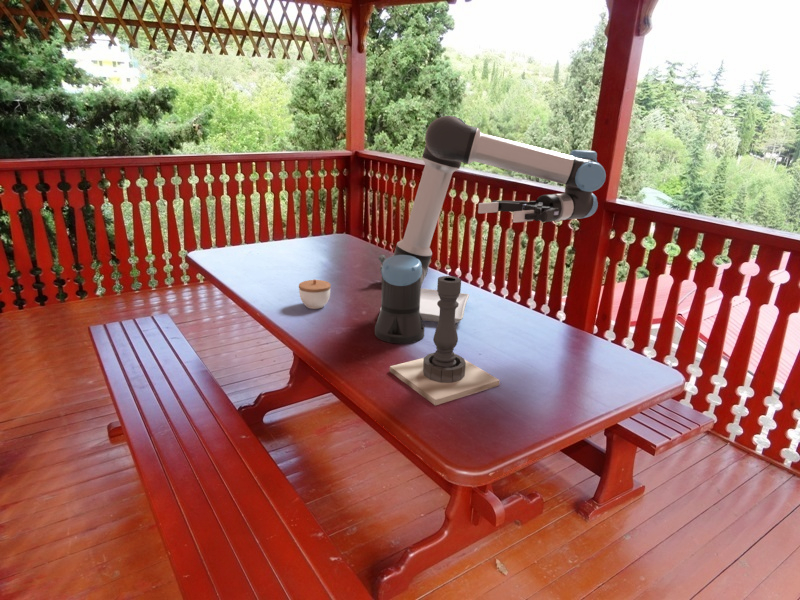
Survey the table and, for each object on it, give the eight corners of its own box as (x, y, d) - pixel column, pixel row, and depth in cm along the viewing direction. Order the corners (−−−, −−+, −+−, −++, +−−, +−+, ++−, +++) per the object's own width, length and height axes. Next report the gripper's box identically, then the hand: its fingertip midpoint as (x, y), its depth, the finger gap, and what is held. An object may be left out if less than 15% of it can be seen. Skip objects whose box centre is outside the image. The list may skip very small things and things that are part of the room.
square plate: (461, 329, 173) (462, 317, 172) (378, 320, 178) (378, 309, 176) (468, 302, 198) (469, 292, 197) (395, 294, 203) (395, 284, 202)
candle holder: (453, 367, 142) (460, 275, 134) (457, 378, 136) (464, 283, 128) (430, 367, 142) (435, 275, 134) (432, 378, 136) (438, 282, 128)
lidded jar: (335, 308, 186) (335, 282, 183) (305, 313, 181) (305, 286, 177) (323, 299, 194) (323, 273, 191) (294, 303, 189) (294, 277, 186)
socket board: (389, 371, 142) (390, 354, 140) (450, 355, 153) (451, 339, 151) (435, 405, 126) (436, 386, 125) (499, 385, 137) (501, 367, 135)
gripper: (586, 229, 145) (528, 236, 134) (520, 213, 165) (465, 218, 154) (590, 201, 143) (532, 205, 132) (522, 188, 163) (467, 191, 152)
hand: (495, 212), depth 143 cm, fingers open, 13 cm apart
